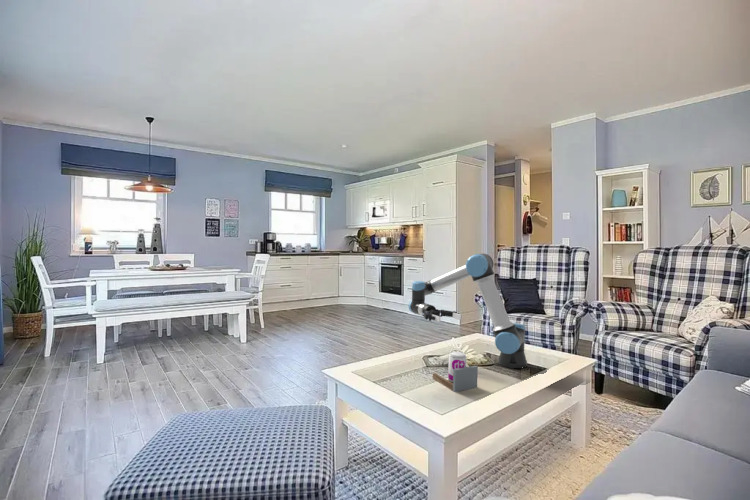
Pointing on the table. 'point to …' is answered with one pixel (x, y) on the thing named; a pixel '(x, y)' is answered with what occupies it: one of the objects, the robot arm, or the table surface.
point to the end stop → (465, 378)
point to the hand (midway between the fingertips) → (450, 318)
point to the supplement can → (456, 363)
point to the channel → (443, 381)
